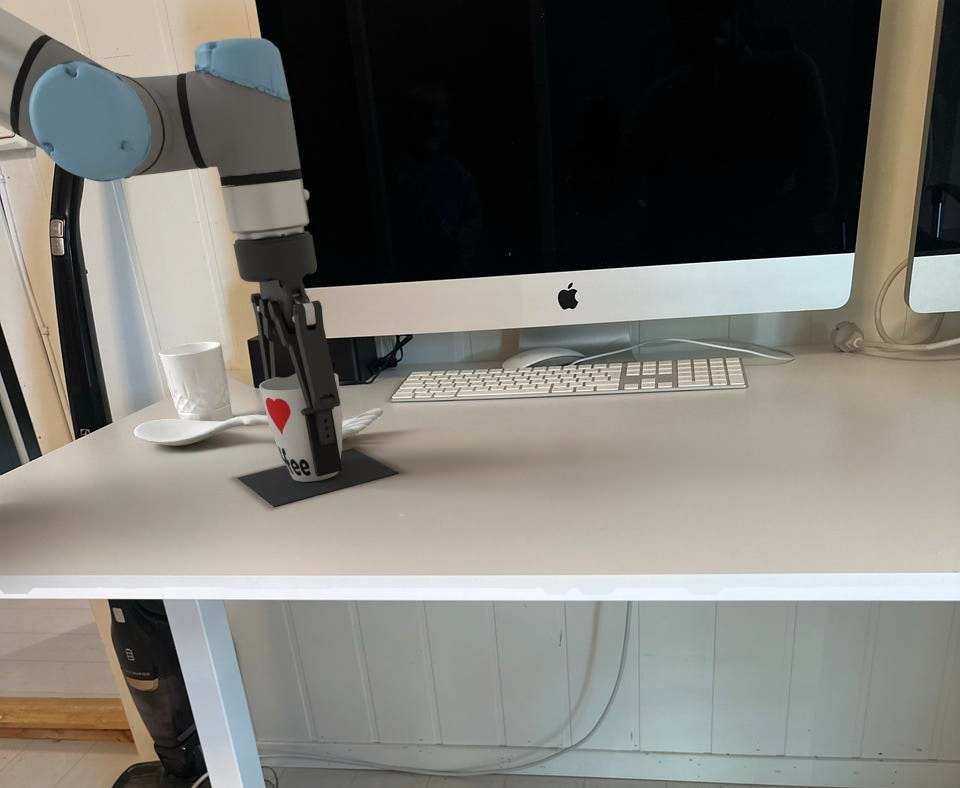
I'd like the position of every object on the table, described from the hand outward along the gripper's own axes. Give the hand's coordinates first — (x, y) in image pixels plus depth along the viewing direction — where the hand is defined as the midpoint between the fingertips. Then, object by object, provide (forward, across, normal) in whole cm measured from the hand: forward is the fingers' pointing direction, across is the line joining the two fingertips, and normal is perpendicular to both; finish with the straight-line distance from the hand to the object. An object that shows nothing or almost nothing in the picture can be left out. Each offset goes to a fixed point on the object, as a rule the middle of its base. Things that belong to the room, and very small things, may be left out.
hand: (314, 463), depth 98 cm
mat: (+1, 0, 0) cm, 1 cm away
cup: (+1, 0, 0) cm, 1 cm away
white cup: (+2, +32, +3) cm, 32 cm away
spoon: (+2, +18, +1) cm, 18 cm away
